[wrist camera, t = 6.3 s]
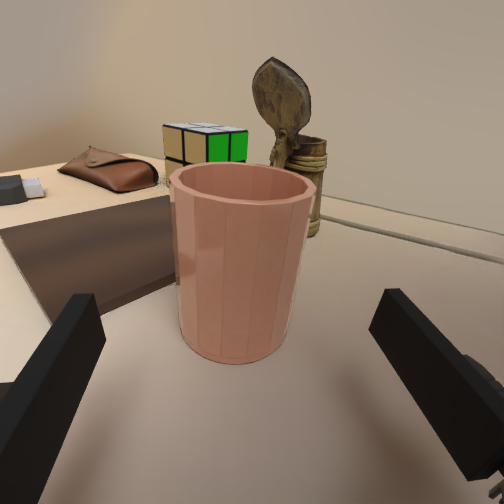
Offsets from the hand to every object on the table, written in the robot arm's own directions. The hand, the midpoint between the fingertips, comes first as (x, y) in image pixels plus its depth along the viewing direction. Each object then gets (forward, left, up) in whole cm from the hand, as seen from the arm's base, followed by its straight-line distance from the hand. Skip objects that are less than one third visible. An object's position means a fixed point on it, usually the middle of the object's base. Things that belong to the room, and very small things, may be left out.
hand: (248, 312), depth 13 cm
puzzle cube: (+32, -23, -7) cm, 40 cm away
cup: (+5, -4, -6) cm, 9 cm away
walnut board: (+21, -4, -6) cm, 22 cm away
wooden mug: (+13, -20, -7) cm, 25 cm away
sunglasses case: (+45, -11, -7) cm, 47 cm away
